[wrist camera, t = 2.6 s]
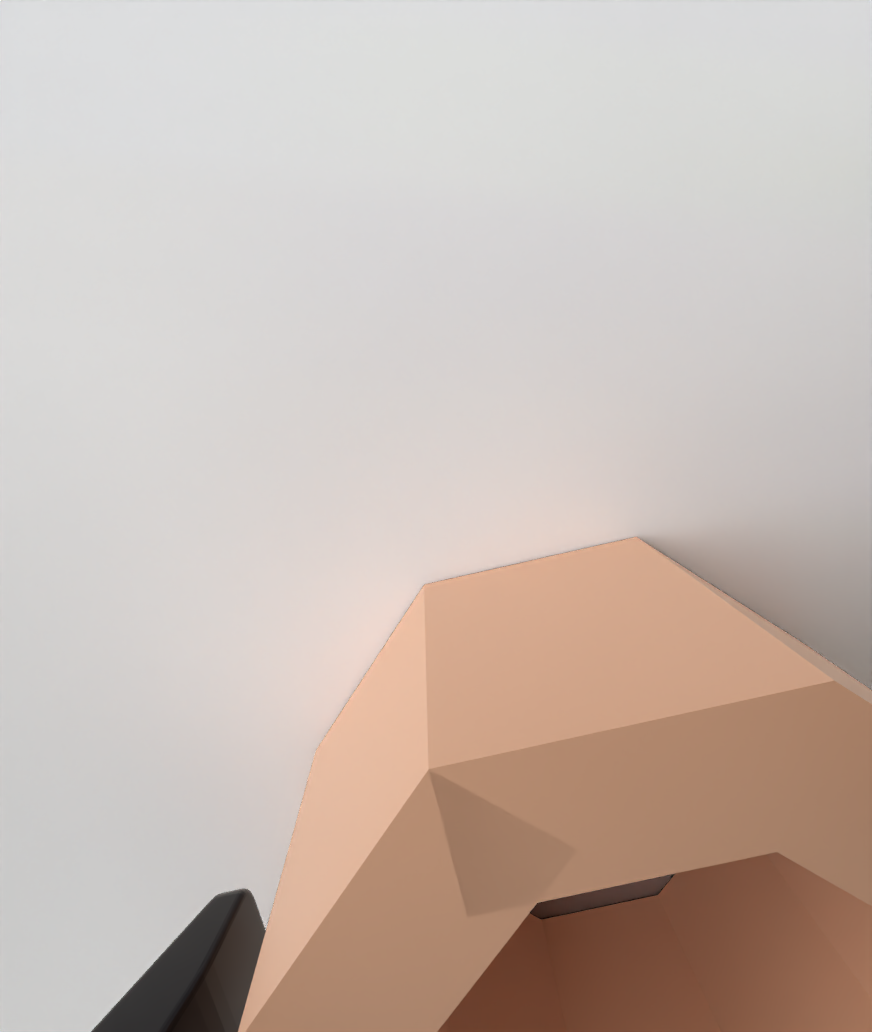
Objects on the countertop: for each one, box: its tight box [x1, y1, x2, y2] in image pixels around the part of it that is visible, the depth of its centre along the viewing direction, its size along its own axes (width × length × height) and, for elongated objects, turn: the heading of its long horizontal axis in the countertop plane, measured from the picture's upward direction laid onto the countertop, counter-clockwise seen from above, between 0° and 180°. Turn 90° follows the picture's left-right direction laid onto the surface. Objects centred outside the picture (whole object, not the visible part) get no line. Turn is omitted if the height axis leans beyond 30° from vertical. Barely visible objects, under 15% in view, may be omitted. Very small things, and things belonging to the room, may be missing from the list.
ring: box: [238, 537, 872, 1032], centre depth 7 cm, size 7×7×4 cm
